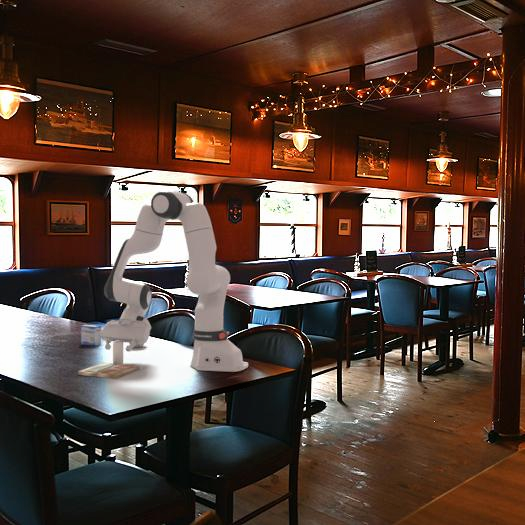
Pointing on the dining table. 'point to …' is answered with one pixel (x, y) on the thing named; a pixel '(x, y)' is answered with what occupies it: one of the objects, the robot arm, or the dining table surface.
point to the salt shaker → (118, 352)
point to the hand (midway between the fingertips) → (117, 349)
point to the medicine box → (91, 335)
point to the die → (138, 345)
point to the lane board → (108, 370)
